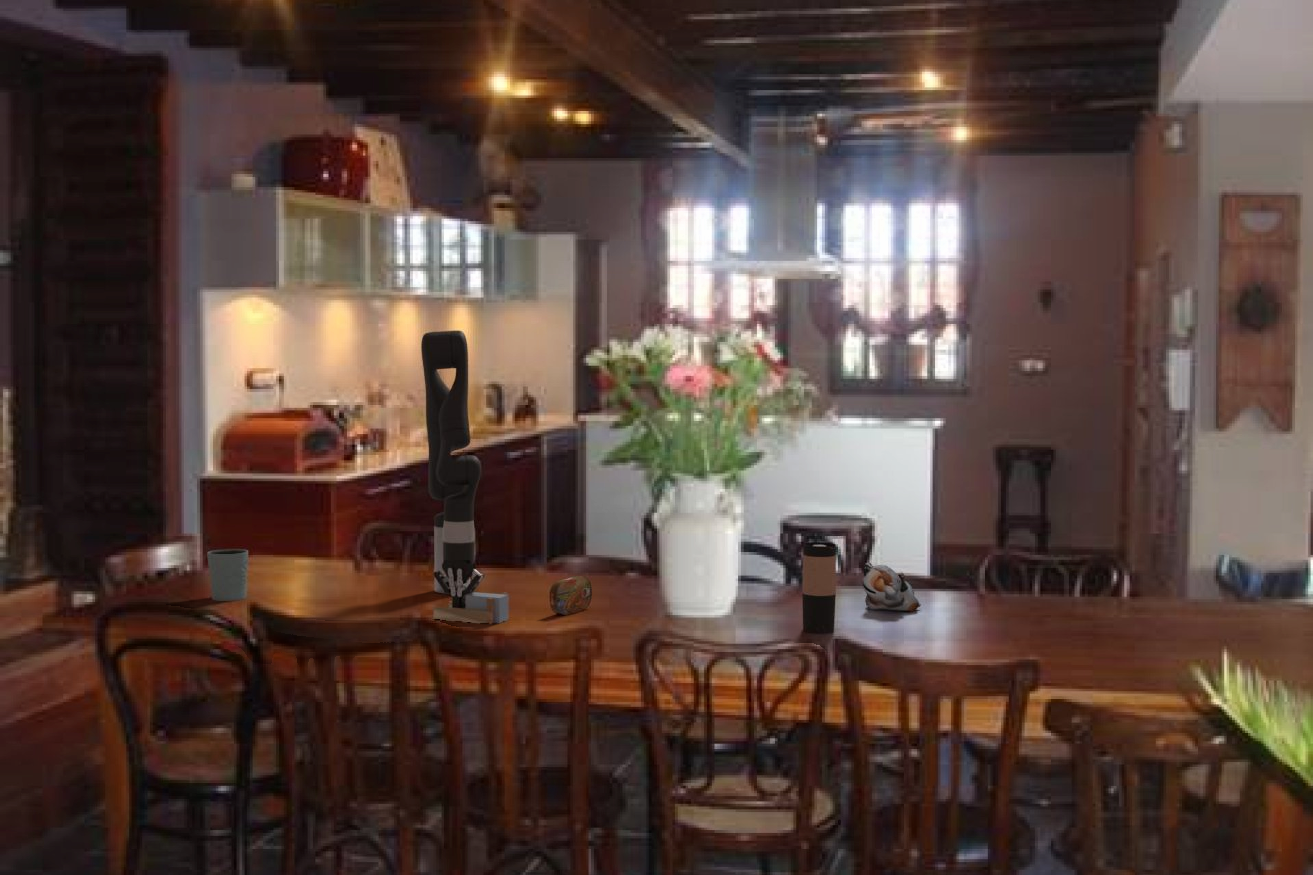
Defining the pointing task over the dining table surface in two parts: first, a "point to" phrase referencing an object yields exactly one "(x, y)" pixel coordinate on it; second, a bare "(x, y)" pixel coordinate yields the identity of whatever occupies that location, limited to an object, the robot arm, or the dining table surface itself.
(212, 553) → the grey tapered cup
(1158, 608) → the dining table surface
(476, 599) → the block
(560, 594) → the tin
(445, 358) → the robot arm
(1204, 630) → the dining table surface
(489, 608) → the chute
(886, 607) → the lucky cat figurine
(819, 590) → the travel mug
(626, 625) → the dining table surface
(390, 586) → the dining table surface
